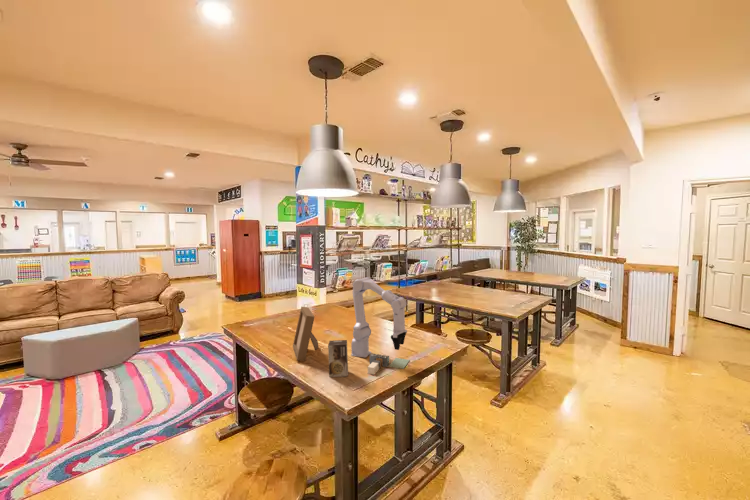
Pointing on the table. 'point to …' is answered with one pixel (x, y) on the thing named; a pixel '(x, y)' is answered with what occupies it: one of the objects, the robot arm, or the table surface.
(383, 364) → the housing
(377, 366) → the plug
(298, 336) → the photo frame
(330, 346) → the coffee box
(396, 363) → the mat
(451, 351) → the table surface
